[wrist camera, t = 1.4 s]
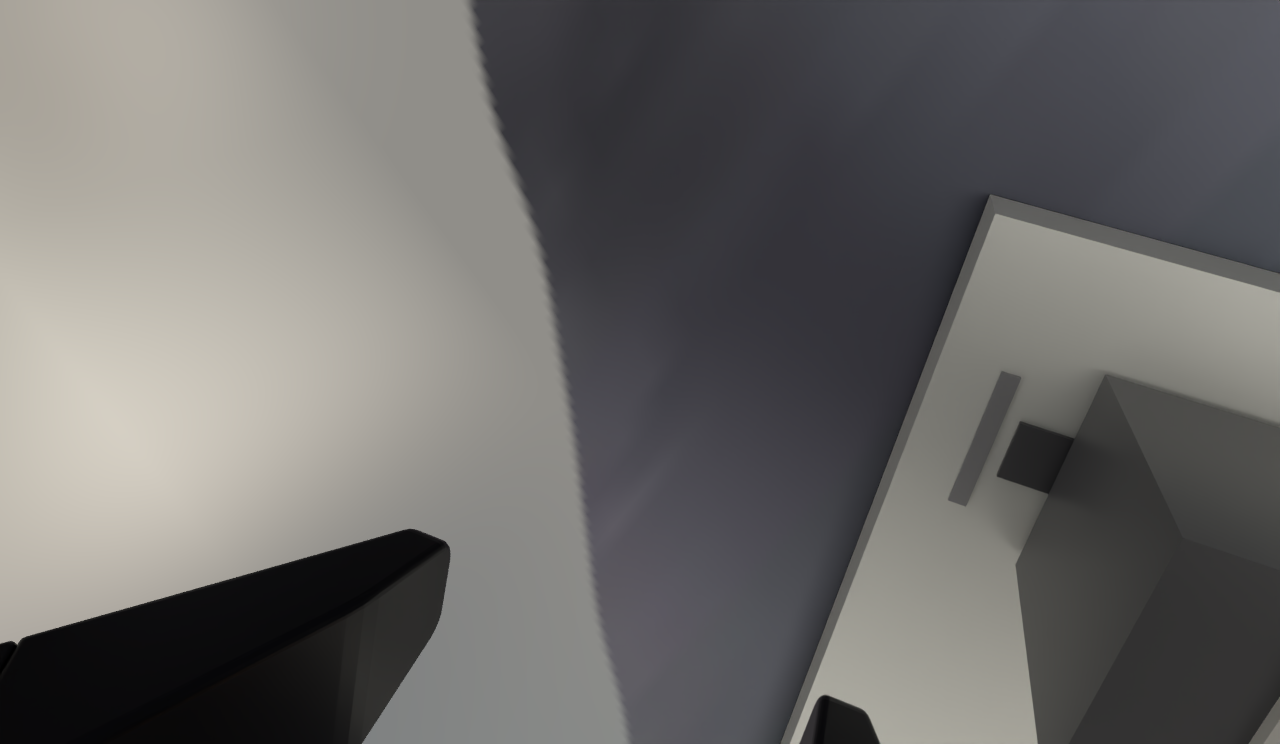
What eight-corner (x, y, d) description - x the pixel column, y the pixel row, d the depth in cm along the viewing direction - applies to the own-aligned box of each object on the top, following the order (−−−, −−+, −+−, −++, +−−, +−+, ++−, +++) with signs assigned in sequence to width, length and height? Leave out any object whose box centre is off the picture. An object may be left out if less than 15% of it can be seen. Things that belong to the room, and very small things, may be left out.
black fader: (1243, 645, 14) (1387, 941, 9) (1015, 565, 15) (1045, 803, 10) (1362, 453, 13) (1600, 688, 8) (1105, 374, 13) (1187, 547, 9)
